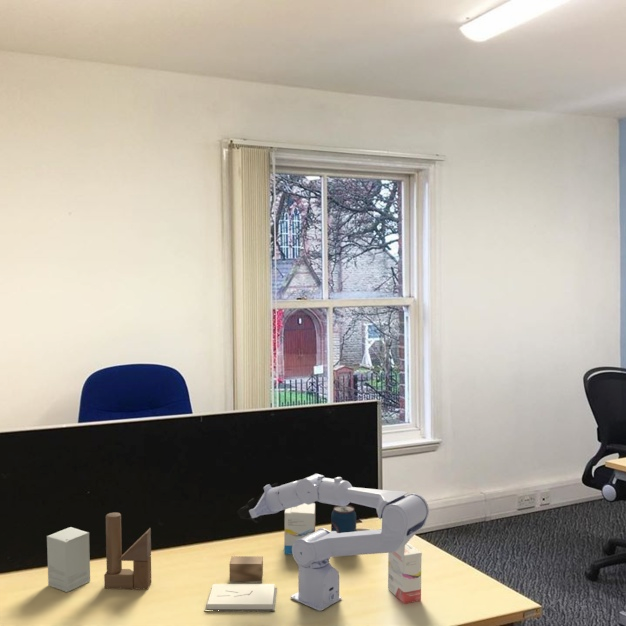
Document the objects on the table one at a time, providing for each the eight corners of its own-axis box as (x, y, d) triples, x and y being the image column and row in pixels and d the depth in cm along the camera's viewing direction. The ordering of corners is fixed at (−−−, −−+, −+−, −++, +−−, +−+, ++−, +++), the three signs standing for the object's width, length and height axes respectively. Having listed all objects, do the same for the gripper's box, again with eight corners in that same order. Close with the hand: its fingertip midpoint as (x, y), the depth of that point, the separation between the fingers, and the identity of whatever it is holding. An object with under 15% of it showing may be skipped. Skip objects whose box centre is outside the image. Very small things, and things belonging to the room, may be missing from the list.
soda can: (327, 547, 194) (327, 505, 193) (350, 544, 196) (351, 502, 195) (335, 557, 187) (336, 513, 187) (359, 554, 190) (360, 511, 189)
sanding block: (262, 575, 177) (262, 556, 176) (261, 583, 172) (261, 563, 172) (231, 575, 177) (231, 556, 176) (229, 583, 172) (229, 563, 172)
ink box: (314, 555, 189) (315, 513, 188) (283, 554, 189) (283, 512, 188) (315, 542, 197) (315, 502, 197) (285, 541, 198) (285, 501, 197)
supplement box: (91, 581, 173) (90, 532, 172) (66, 593, 166) (64, 542, 166) (72, 574, 177) (71, 525, 176) (47, 585, 170) (45, 535, 170)
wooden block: (147, 590, 168) (146, 517, 167) (104, 589, 169) (102, 517, 167) (151, 583, 172) (150, 512, 171) (109, 582, 172) (107, 511, 171)
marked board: (276, 588, 169) (276, 582, 169) (274, 611, 158) (274, 605, 158) (211, 588, 169) (211, 582, 169) (204, 611, 158) (204, 605, 158)
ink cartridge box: (422, 601, 163) (423, 540, 162) (403, 604, 162) (404, 543, 160) (404, 585, 171) (405, 527, 170) (386, 588, 170) (387, 530, 168)
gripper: (296, 469, 174) (260, 481, 182) (261, 493, 162) (223, 505, 171) (308, 495, 174) (271, 506, 182) (273, 521, 162) (235, 531, 170)
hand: (249, 507), depth 176 cm, fingers open, 7 cm apart
